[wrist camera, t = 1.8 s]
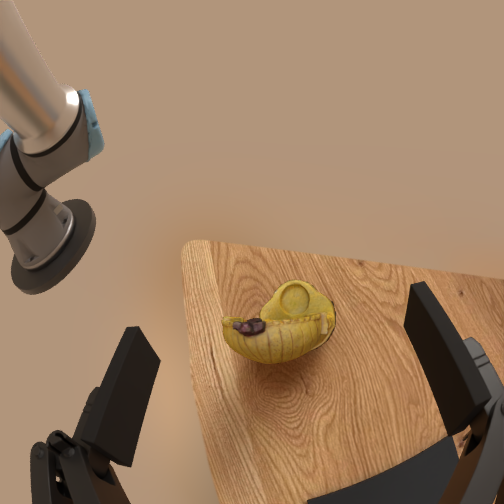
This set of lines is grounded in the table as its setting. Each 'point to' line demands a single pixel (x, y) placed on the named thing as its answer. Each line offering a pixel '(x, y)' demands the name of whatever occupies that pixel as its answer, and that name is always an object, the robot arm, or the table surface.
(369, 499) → the shoe mat
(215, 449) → the table surface
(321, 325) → the yellow ribbed rounded piece
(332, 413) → the table surface
